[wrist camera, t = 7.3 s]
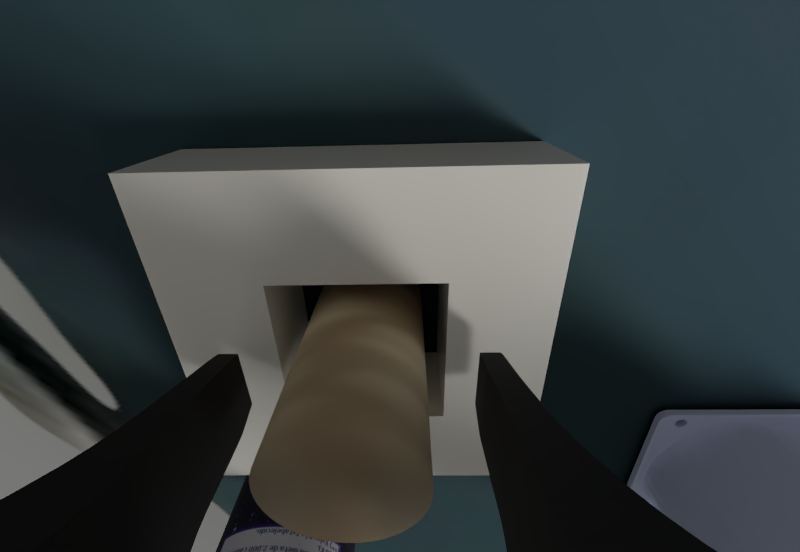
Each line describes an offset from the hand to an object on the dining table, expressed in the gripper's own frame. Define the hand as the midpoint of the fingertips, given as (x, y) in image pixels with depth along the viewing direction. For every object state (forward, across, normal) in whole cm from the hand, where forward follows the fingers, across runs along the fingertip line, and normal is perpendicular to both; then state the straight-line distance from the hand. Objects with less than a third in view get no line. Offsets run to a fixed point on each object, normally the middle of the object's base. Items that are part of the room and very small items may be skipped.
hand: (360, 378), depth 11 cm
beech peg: (+4, 0, 0) cm, 4 cm away
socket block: (+4, 0, 0) cm, 4 cm away
